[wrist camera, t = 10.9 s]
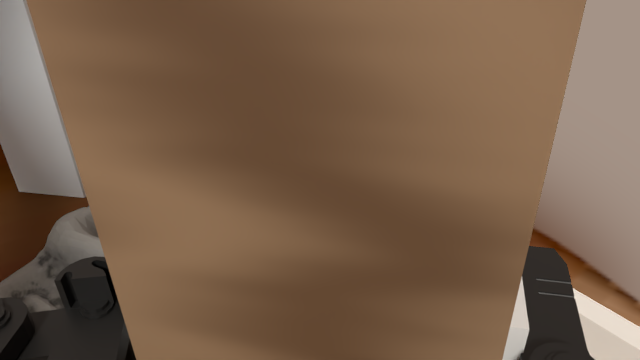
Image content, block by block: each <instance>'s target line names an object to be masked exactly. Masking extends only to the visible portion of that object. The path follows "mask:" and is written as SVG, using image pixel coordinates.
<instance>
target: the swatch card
mask: <svg viewBox="0 0 640 360" xmlns="http://www.w3.org/2000/svg"><path fill="white" fill-rule="evenodd" d="M573 292H574V299H575V300H576V304H577V308H578V313H579V317H580V321H581V325H582V329H583V333H584V337H585V341H586V346H587V349H588V352H589V354H590V356H591V357H593V358H594V359H595V360H640V327H639V326H637V325H635V324H633V323H632V322H630V321H628V320H627V319H625V318H623V317H621V316H620V315H618V314H616V313H614V312H613V311H611V310H609V309H608V308H606V307H604V306H602V305H601V304H599V303H597V302H596V301H594V300H592V299H590V298H589V297H587V296H585V295H584V294H582V293H580V292H578V291H577V290H575V289H573Z"/></svg>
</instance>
